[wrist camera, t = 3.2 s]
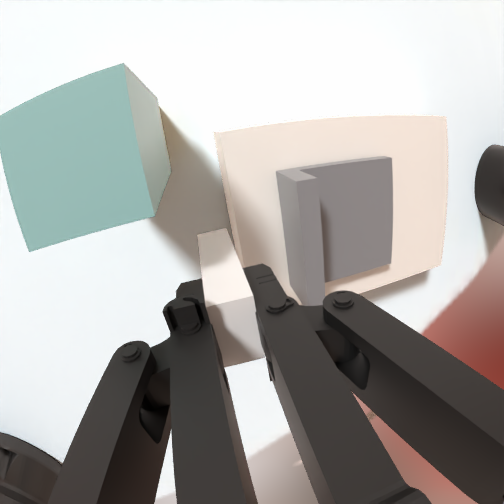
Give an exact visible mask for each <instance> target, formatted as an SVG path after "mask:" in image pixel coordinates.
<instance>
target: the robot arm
mask: <svg viewBox="0 0 504 504" xmlns="http://www.w3.org/2000/svg"><path fill="white" fill-rule="evenodd" d="M197 238H198V248H199V257H200V265H201V274H202V279H198V280H193V281H189V282H185V283H181V284H180V286H179V287H178V289H177V290H176V298H175V299H174V300H172V301H170V302H169V303H168V304H167V305H166V306H165V307H164V309H163V314H164V317H165V320H166V322H167V325H168V327H169V330H170V337H169V338H168V339H167V340H165V341H164V342H162V343H160V344H158V345H155V346H153V347H151V348H150V347H149V345H148V344H147V343H145V342H144V341H132V342H128V343H126V344H124V345H122V346H121V347H120V348H118V349H117V350H116V352H115V353H114V355H113V356H112V358H111V360H110V362H109V364H108V366H107V368H106V370H105V372H104V374H103V376H102V378H101V380H100V382H99V384H98V386H97V388H96V390H95V393H94V395H93V397H92V399H91V401H90V403H89V405H88V407H87V409H86V412H85V414H84V416H83V418H82V420H81V423H80V425H79V427H78V429H77V432H76V434H75V436H74V438H73V441H72V443H71V445H70V448H69V450H68V453H67V455H66V457H65V460H64V462H63V465H62V466H61V465H60V464H59V463H58V462H57V461H56V460H54V459H53V458H52V457H50V456H49V455H47V454H46V453H44V452H42V451H41V450H39V449H37V448H35V447H34V446H32V445H30V444H28V443H26V442H24V441H22V440H19V439H17V438H15V437H12V436H10V435H7V434H3V433H0V504H154V502H155V497H156V493H157V488H158V483H159V479H160V474H161V470H162V466H163V461H164V457H165V453H166V448H167V444H168V440H169V436H170V431H171V430H172V448H173V463H174V476H175V487H176V496H177V497H176V498H177V504H258V502H257V499H256V495H255V491H254V487H253V484H252V480H251V476H250V473H249V468H248V464H247V460H246V456H245V452H244V448H243V444H242V440H241V436H240V432H239V428H238V423H237V419H236V415H235V410H234V406H233V401H232V397H231V392H230V388H229V383H228V378H227V375H226V372H225V369H224V367H228V366H232V365H237V364H241V363H245V362H249V361H253V360H257V359H261V358H264V357H265V356H266V361H267V366H268V371H269V377H270V381H273V383H274V386H275V389H276V392H277V394H278V397H279V400H280V403H281V405H282V408H283V411H284V414H285V416H286V419H287V422H288V424H289V427H290V430H291V433H292V435H293V438H294V441H295V443H296V446H297V448H298V451H299V454H300V456H301V459H302V462H303V464H304V467H305V469H306V472H307V474H308V477H309V480H310V482H311V485H312V487H313V490H314V492H315V495H316V498H317V500H318V503H319V504H431V502H430V501H429V499H428V498H427V497H426V495H425V494H424V493H422V492H421V491H420V490H419V489H415V488H412V487H410V486H408V485H407V484H406V483H405V481H404V480H403V478H402V477H401V475H400V473H399V471H398V470H397V468H396V466H395V464H394V463H393V461H392V459H391V457H390V456H389V454H388V452H387V451H386V449H385V448H384V446H383V444H382V442H381V440H380V439H379V437H378V435H377V434H376V432H375V431H374V429H373V427H372V425H371V423H370V422H369V420H368V418H367V417H366V415H365V413H364V412H363V410H362V408H361V407H360V405H359V403H358V402H357V400H356V398H355V397H354V395H353V393H354V394H355V395H356V396H357V397H358V398H359V399H360V400H361V401H363V403H365V404H366V405H367V406H368V407H369V408H370V409H371V410H372V411H373V412H374V413H375V414H376V415H377V416H378V417H379V418H381V419H382V420H383V421H384V422H385V423H386V424H387V425H388V426H389V427H390V428H391V429H392V430H394V431H395V432H396V433H397V434H398V435H399V436H400V437H401V438H402V439H404V441H406V442H407V443H408V444H409V445H410V446H411V447H412V448H413V449H414V450H416V451H417V452H418V453H419V454H420V455H421V456H422V457H423V458H425V459H426V460H427V461H428V462H429V463H430V464H431V465H432V466H433V467H435V468H436V469H437V470H438V471H439V472H440V473H442V474H443V475H444V476H445V477H446V478H447V479H448V480H450V481H451V482H452V483H453V484H454V485H455V486H456V487H458V488H459V489H460V490H461V491H462V492H464V493H465V494H466V495H467V496H469V497H470V498H471V499H473V500H474V501H475V502H477V503H478V504H504V390H503V389H501V388H500V387H498V386H497V385H496V384H494V383H493V382H491V381H490V380H488V379H487V378H485V377H484V376H482V375H480V374H479V373H478V372H476V371H475V370H473V369H472V368H471V367H469V366H468V365H466V364H465V363H463V362H462V361H460V360H458V359H457V358H456V357H454V356H453V355H451V354H450V353H448V352H447V351H445V350H444V349H442V348H441V347H439V346H438V345H436V344H435V343H433V342H432V341H430V340H428V339H427V338H426V337H424V336H422V335H421V334H419V333H418V332H416V331H415V330H413V329H412V328H410V327H409V326H407V325H406V324H404V323H403V322H401V321H399V320H398V319H396V318H395V317H393V316H392V315H390V314H389V313H387V312H386V311H384V310H382V309H381V308H379V307H378V306H376V305H375V304H373V303H371V302H370V301H368V300H367V299H365V298H364V297H362V296H360V295H359V294H357V293H355V292H352V291H346V290H341V291H335V292H332V293H330V294H328V295H327V296H325V298H324V299H323V305H318V306H303V305H299V304H298V303H297V301H296V300H295V299H294V298H292V297H289V296H287V295H286V293H285V291H284V290H283V288H282V286H281V285H280V283H279V281H278V280H277V278H276V276H275V275H274V273H273V271H272V269H271V268H270V267H269V266H267V265H265V264H263V263H262V264H258V265H253V266H249V267H245V268H242V266H241V264H240V261H239V259H238V256H237V254H236V251H235V249H234V246H233V244H232V241H231V239H230V236H229V234H228V231H227V229H226V228H223V229H219V230H215V231H210V232H206V233H201V234H197ZM264 353H265V355H264ZM351 391H352V392H353V393H352V392H351Z"/></svg>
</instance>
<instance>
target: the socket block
mask: <svg viewBox="0 0 504 504" xmlns="http://www.w3.org/2000/svg"><path fill="white" fill-rule="evenodd" d="M213 133H214V138H215V144H216V149H217V155H218V160H219V166H220V171H221V177H222V182H223V187H224V193H225V198H226V203H227V209H228V214H229V219H230V224H231V229H232V235H233V240H234V245H235V250H236V254H237V256H238V259H239V261H240V264H241V266H242V268H245V267H249V266H253V265H258V264H262V263H263V264H265V265H267V266H269V267H270V268H271V269H272V271H273V273H274V275H275V276H276V278H277V280H278V281H279V283H280V285H281V286H282V288H283V290H284V291H285V293H286V295H287V296H289V297H292V298H294V299H295V300H296V301H297V303H298V304H299V305H302V303H301V301H300V300H299V298H298V297H297V295H296V294H295V292H294V291H293V289H292V288H291V286H290V282H289V273H288V265H287V256H286V247H285V239H284V231H283V223H282V215H281V207H280V200H279V192H278V185H277V178H276V171H279V170H284V169H290V168H297V167H303V166H309V165H316V164H323V163H330V162H337V161H345V160H352V159H361V158H369V157H378V156H387V157H391V158H392V171H393V237H392V258H391V264H387V265H384V266H381V267H378V268H374V269H371V270H368V271H364V272H361V273H358V274H354V275H351V276H347V277H344V278H340V279H337V280H333V281H330V282H326V283H325V296H327V295H328V294H330V293H332V292H335V291H341V290H346V291H352V292H355V293H357V294H360V293H363V292H366V291H369V290H372V289H375V288H378V287H381V286H384V285H387V284H390V283H393V282H396V281H399V280H401V279H404V278H407V277H410V276H413V275H416V274H418V273H421V272H424V271H427V270H429V269H432V268H435V267H437V266H440V265H441V260H442V253H443V245H444V235H445V225H446V212H447V193H448V140H447V122H446V117H445V116H433V115H417V114H371V115H348V116H332V117H319V118H308V119H298V120H289V121H281V122H273V123H266V124H259V125H252V126H245V127H239V128H233V129H228V130H222V131H217V132H213Z"/></svg>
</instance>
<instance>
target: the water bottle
mask: <svg viewBox="0 0 504 504" xmlns="http://www.w3.org/2000/svg"><path fill="white" fill-rule="evenodd" d="M475 198H476V203H477V206H478V209H479V211H480V212H481V214H482V215H484V216H486V217H488V218H490V219H492V220H494V221H495V222H497V223H499V224H501V225H503V226H504V146H500V145H491V146H490V147H488V148H487V149H486V150H485V152H484V153H483V155H482V157H481V159H480V161H479V164H478V168H477V172H476V178H475Z"/></svg>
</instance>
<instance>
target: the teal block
mask: <svg viewBox="0 0 504 504" xmlns="http://www.w3.org/2000/svg"><path fill="white" fill-rule="evenodd" d="M0 153H1V158H2V163H3V168H4V172H5V176H6V180H7V184H8V188H9V192H10V195H11V199H12V202H13V206H14V209H15V212H16V216H17V219H18V222H19V225H20V228H21V231H22V234H23V237H24V239H25V242H26V245H27V247H28V250H29V252H31V251H34V250H38V249H41V248H44V247H47V246H50V245H54V244H57V243H60V242H63V241H67V240H70V239H73V238H77V237H80V236H84V235H87V234H91V233H94V232H98V231H101V230H105V229H108V228H112V227H116V226H119V225H123V224H127V223H131V222H135V221H138V220H142V219H146V218H150V217H154V216H155V215H156V212H157V209H158V206H159V203H160V201H161V198H162V195H163V192H164V190H165V187H166V184H167V182H168V179H169V176H170V174H171V166H170V159H169V154H168V149H167V144H166V139H165V134H164V129H163V124H162V118H161V113H160V108H159V105H158V99H157V97H156V96H155V95H154V94H153V93H152V92H151V91H150V90H149V89H148V88H147V87H146V86H145V85H144V84H143V83H142V82H141V81H140V79H139V78H138V77H137V76H136V75H135V74H134V73H133V72H132V71H131V70H130V69H129V68H128V67H127V66H126V65H125V64H124V63H123V64H119V65H116V66H113V67H110V68H107V69H104V70H101V71H98V72H95V73H92V74H89V75H86V76H84V77H81V78H78V79H76V80H73V81H71V82H68V83H66V84H64V85H61V86H59V87H56V88H54V89H52V90H50V91H47V92H45V93H43V94H41V95H39V96H37V97H35V98H33V99H31V100H29V101H27V102H25V103H23V104H21V105H19V106H17V107H15V108H13V109H11V110H9V111H8V112H6V113H4V114H2V115H1V116H0Z"/></svg>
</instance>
